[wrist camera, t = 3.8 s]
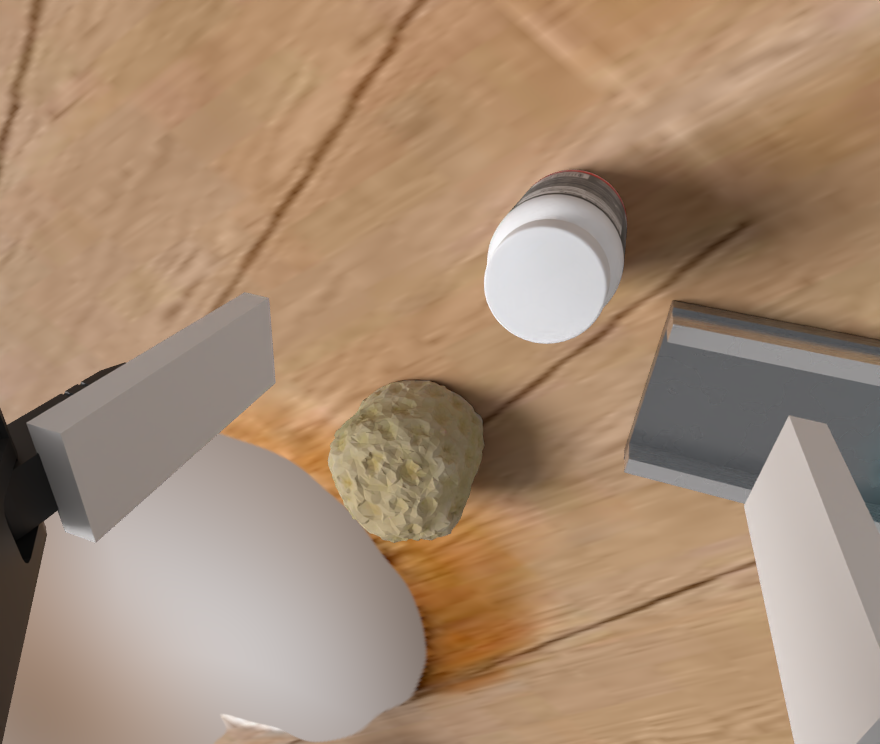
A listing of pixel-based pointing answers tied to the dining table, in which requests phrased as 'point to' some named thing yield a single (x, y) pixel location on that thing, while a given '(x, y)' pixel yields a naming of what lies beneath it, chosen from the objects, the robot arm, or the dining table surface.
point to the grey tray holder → (752, 400)
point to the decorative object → (408, 460)
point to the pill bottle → (557, 257)
